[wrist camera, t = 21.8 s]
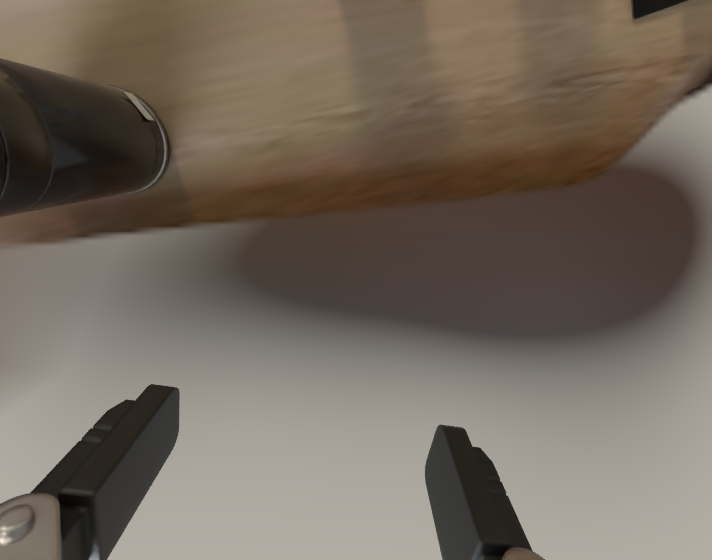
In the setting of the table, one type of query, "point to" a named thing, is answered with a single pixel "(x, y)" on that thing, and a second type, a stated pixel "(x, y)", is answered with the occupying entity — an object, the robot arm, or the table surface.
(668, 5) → the black stand
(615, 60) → the table surface
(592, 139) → the table surface
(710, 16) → the table surface
